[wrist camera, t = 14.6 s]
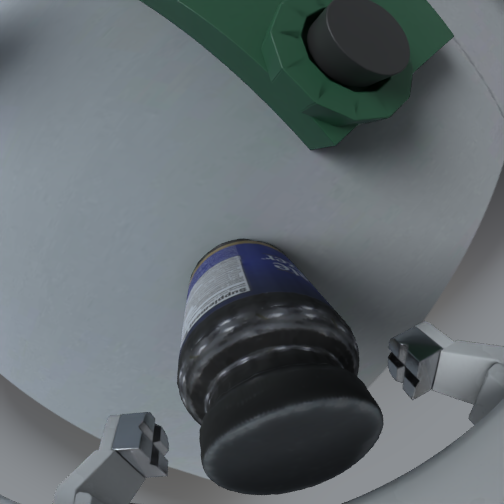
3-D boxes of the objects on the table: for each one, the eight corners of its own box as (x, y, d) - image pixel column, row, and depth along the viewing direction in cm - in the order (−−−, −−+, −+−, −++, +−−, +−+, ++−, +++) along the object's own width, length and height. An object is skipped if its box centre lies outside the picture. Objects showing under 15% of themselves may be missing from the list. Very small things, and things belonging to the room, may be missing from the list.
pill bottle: (314, 289, 16) (428, 422, 6) (238, 351, 17) (275, 513, 6) (248, 212, 15) (348, 312, 4) (165, 286, 15) (120, 461, 5)
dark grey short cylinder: (395, 64, 9) (423, 53, 7) (350, 103, 9) (378, 92, 7) (341, 6, 8) (363, -15, 6) (288, 38, 8) (305, 14, 6)
